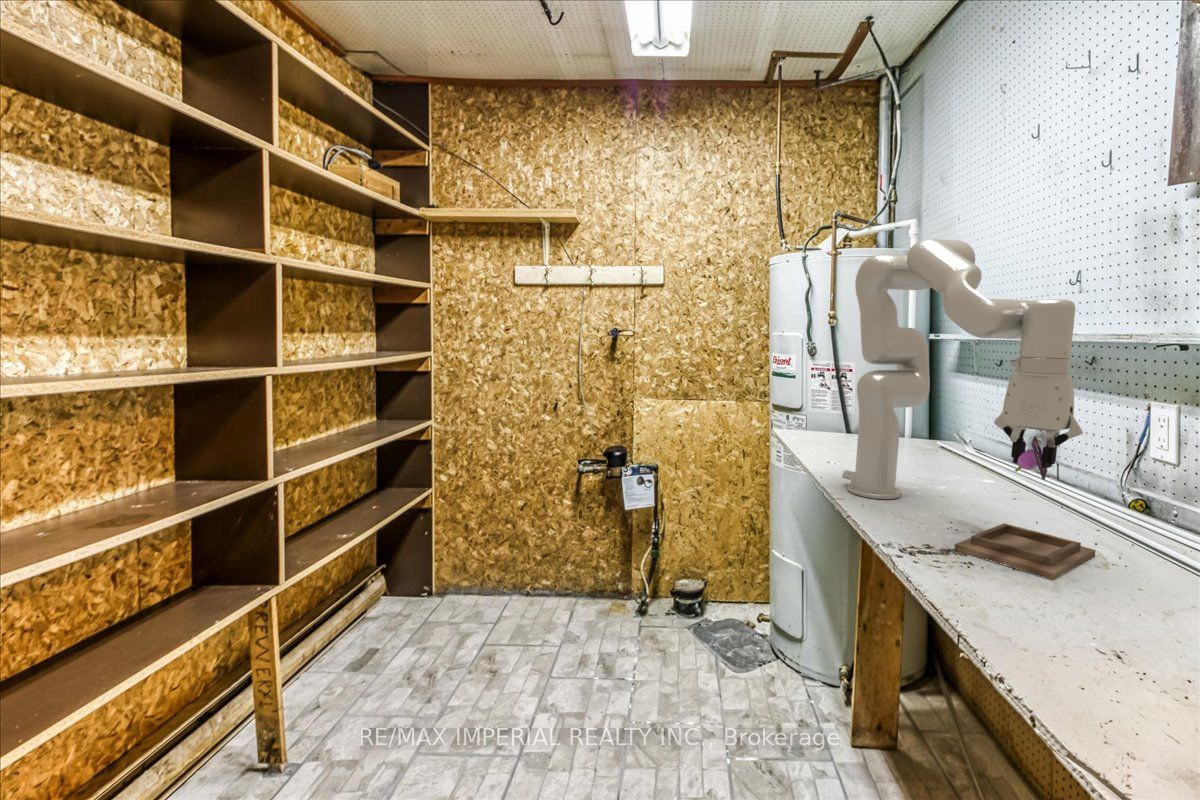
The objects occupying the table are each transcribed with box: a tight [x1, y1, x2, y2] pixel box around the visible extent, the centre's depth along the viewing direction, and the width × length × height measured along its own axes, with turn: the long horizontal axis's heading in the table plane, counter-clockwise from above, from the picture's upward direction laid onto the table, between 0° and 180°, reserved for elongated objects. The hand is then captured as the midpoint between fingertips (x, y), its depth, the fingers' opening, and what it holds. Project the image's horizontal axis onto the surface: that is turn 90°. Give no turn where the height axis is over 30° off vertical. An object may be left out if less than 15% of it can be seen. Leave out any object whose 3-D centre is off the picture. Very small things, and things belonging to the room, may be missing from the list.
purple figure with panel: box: [1014, 435, 1048, 480], centre depth 111 cm, size 7×5×9 cm
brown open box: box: [954, 523, 1096, 580], centre depth 114 cm, size 16×20×3 cm
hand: (1032, 463), depth 112 cm, fingers closed on purple figure with panel, 3 cm apart
